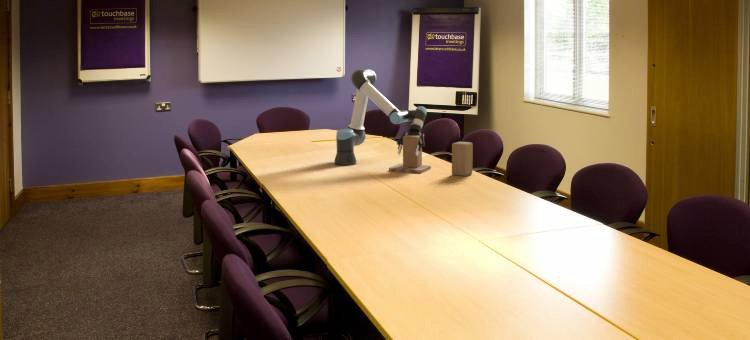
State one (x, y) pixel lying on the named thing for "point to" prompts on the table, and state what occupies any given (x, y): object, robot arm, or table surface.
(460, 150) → the block
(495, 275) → the table surface
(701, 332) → the table surface
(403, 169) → the marked board
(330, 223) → the table surface
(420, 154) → the wooden block
